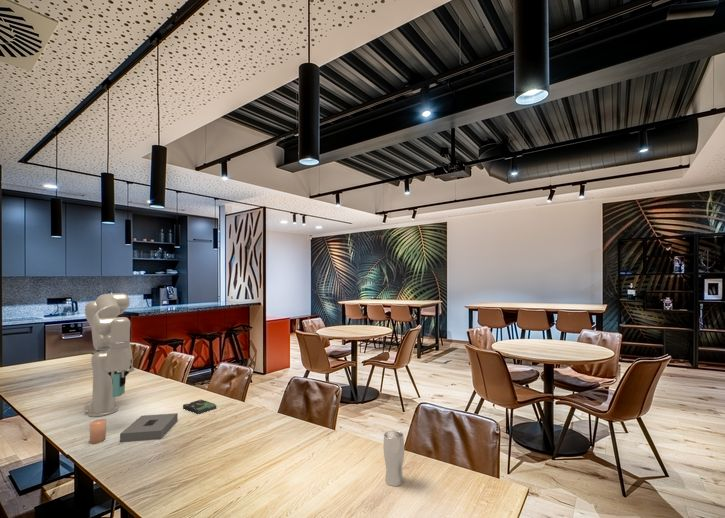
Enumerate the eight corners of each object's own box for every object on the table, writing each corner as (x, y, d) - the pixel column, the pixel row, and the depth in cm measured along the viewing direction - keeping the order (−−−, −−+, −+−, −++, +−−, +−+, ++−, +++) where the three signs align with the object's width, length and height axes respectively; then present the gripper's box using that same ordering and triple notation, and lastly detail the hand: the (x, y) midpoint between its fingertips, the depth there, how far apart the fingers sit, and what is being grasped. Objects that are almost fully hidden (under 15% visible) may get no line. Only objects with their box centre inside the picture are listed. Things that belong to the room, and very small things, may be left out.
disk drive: (182, 410, 186) (198, 415, 178) (182, 404, 186) (198, 409, 178) (200, 404, 195) (217, 409, 187) (200, 399, 195) (217, 403, 187)
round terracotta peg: (86, 444, 146) (87, 424, 147) (94, 438, 152) (94, 419, 152) (101, 443, 147) (101, 423, 148) (108, 437, 153) (108, 418, 153)
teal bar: (112, 397, 160) (112, 374, 161) (118, 393, 165) (119, 371, 166) (118, 396, 160) (118, 374, 161) (124, 392, 166) (125, 371, 166)
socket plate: (119, 442, 148) (120, 433, 149) (141, 423, 168) (141, 415, 168) (160, 438, 151) (161, 430, 151) (177, 420, 171) (177, 413, 171)
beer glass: (382, 475, 121) (381, 430, 121) (402, 474, 121) (401, 429, 122) (385, 487, 114) (384, 440, 115) (406, 486, 114) (406, 438, 115)
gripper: (96, 347, 159) (94, 389, 158) (134, 346, 162) (133, 387, 161) (105, 345, 167) (104, 384, 166) (142, 343, 169) (141, 382, 168)
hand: (118, 385), depth 163 cm, fingers closed on teal bar, 2 cm apart
